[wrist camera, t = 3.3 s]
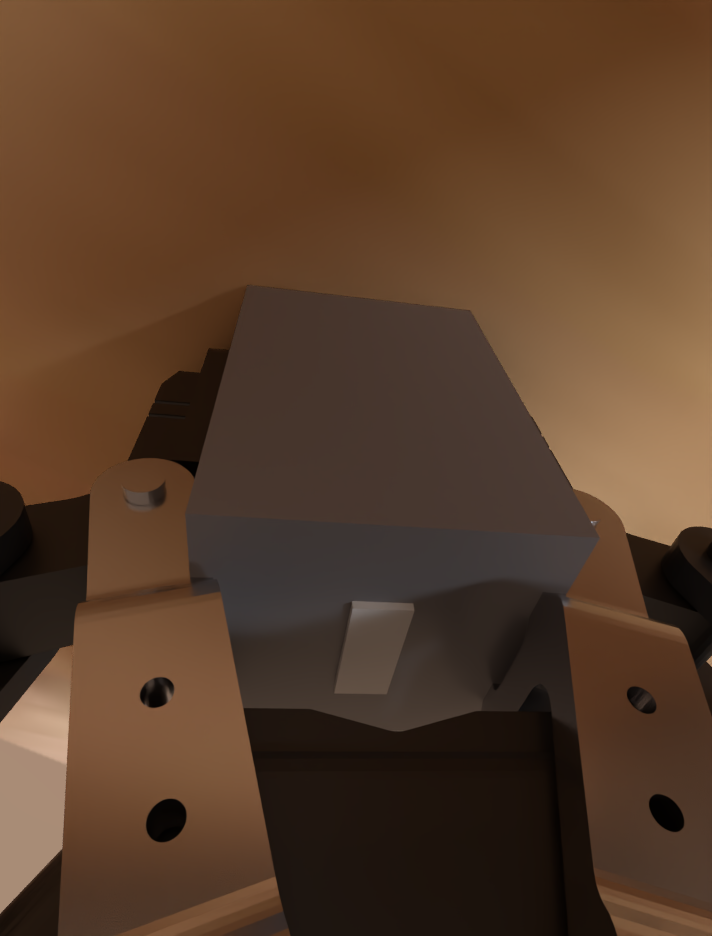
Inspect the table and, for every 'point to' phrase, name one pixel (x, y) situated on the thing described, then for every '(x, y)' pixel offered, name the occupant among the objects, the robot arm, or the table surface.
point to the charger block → (375, 509)
